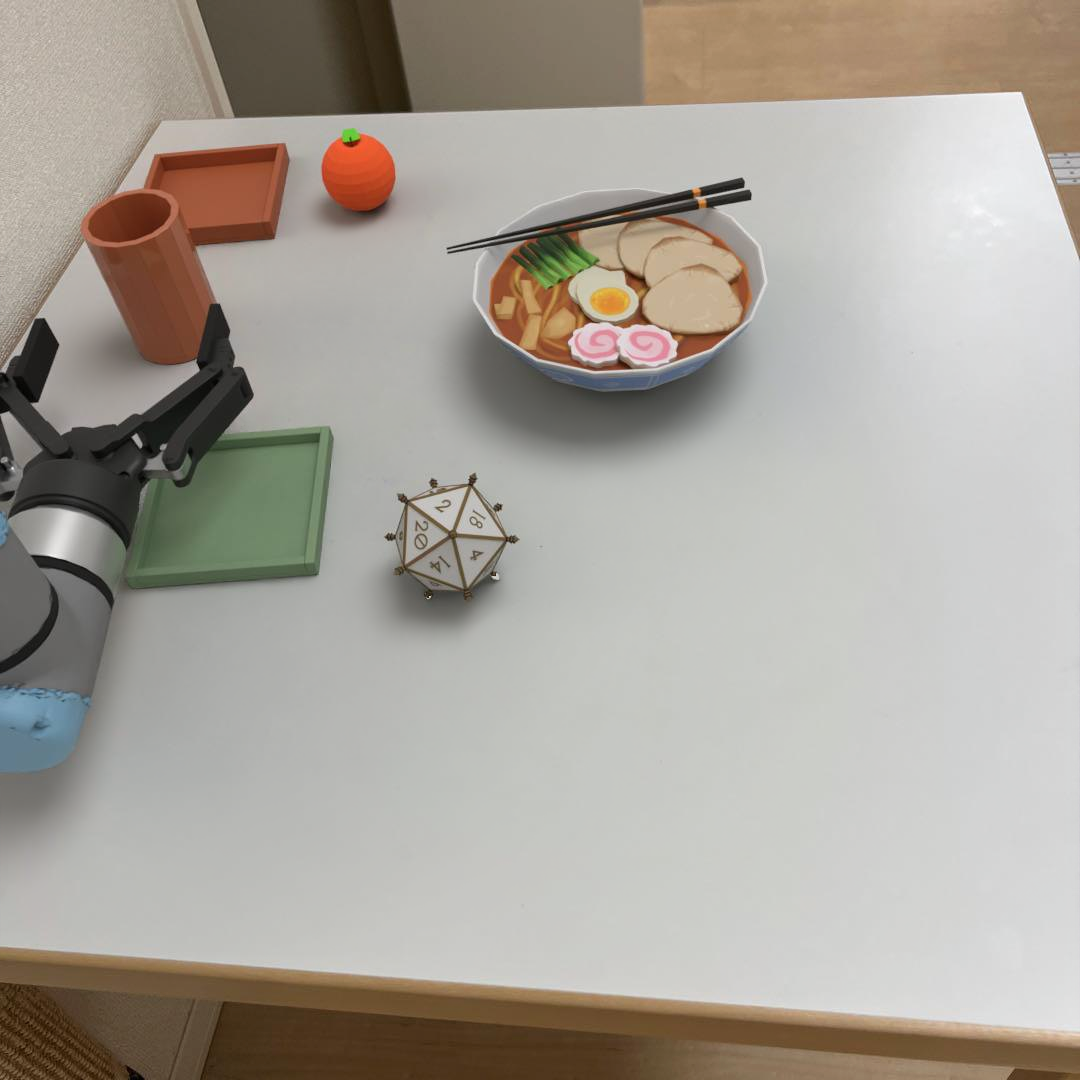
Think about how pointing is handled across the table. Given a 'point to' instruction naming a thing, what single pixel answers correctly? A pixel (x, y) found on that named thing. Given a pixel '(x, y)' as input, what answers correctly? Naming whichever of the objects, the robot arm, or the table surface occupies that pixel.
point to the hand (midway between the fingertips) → (133, 324)
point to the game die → (449, 537)
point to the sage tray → (238, 512)
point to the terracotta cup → (151, 272)
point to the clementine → (358, 171)
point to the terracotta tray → (225, 190)
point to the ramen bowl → (621, 284)
